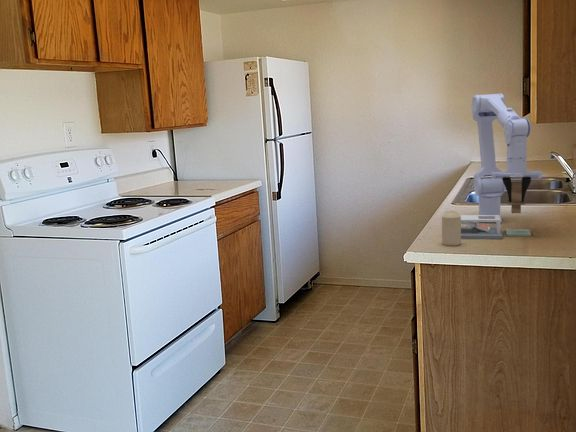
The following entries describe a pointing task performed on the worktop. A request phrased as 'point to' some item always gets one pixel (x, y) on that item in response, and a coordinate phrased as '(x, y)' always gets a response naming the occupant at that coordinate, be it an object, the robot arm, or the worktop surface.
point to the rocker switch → (477, 226)
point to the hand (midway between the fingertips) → (516, 201)
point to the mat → (518, 232)
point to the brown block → (516, 197)
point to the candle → (451, 228)
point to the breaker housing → (475, 233)
